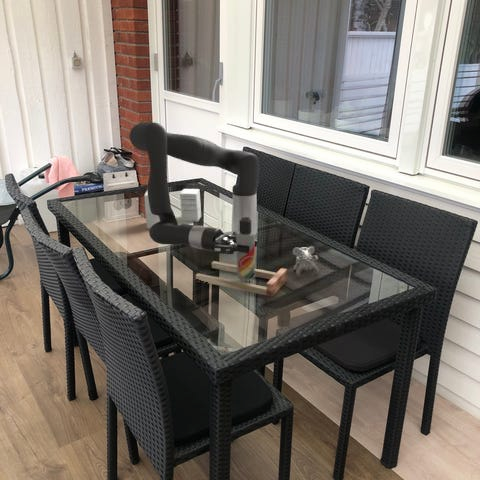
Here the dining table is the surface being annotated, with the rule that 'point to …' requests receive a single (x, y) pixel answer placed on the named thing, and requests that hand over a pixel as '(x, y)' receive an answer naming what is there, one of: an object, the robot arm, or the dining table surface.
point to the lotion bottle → (246, 259)
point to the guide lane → (269, 290)
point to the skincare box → (149, 213)
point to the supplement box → (190, 205)
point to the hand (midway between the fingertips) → (253, 246)
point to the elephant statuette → (305, 259)
